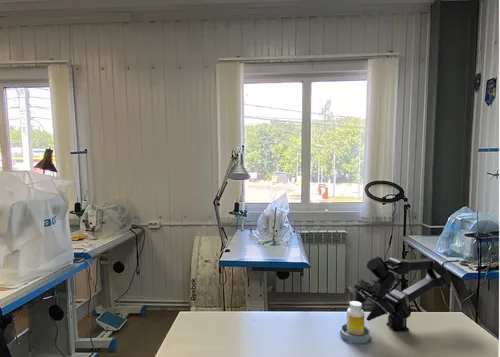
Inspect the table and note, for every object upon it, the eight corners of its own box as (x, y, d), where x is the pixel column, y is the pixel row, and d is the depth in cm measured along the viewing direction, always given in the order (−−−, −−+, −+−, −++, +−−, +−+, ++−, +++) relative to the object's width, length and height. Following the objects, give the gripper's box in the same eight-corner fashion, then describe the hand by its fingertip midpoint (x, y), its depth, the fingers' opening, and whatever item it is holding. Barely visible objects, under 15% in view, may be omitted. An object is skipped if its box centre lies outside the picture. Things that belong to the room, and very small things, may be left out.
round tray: (359, 327, 138) (359, 321, 137) (375, 341, 127) (375, 335, 127) (335, 330, 135) (335, 324, 135) (349, 345, 124) (349, 339, 124)
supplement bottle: (367, 338, 128) (367, 306, 127) (350, 339, 127) (351, 307, 127) (359, 329, 135) (360, 299, 134) (343, 330, 134) (344, 300, 133)
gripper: (357, 265, 141) (334, 293, 138) (387, 280, 123) (362, 313, 120) (372, 280, 143) (350, 309, 141) (404, 297, 126) (380, 330, 123)
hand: (360, 314), depth 131 cm, fingers open, 9 cm apart
